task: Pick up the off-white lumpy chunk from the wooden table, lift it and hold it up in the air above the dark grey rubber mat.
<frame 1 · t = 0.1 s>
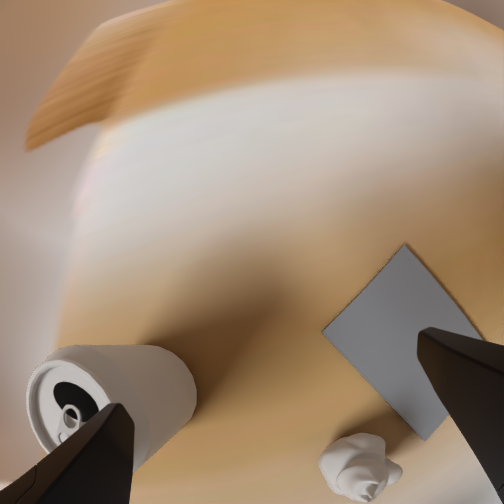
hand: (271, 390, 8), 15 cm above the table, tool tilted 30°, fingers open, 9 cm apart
off-white lumpy chunk: (352, 455, 19), on the table
grey mat: (418, 346, 21), on the table
can: (156, 388, 22), on the table
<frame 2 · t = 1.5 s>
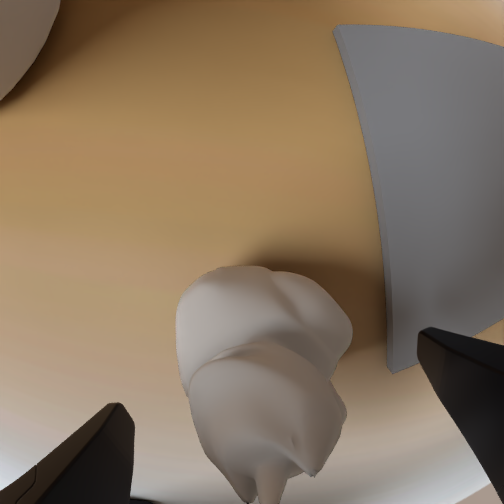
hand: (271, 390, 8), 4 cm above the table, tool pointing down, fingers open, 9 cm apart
off-white lumpy chunk: (261, 322, 11), on the table
grey mat: (471, 193, 10), on the table
can: (7, 43, 7), on the table
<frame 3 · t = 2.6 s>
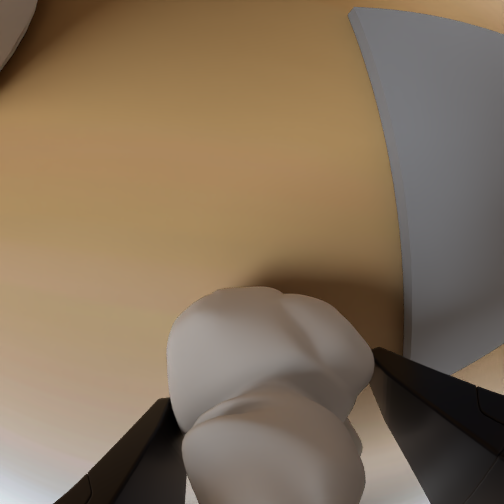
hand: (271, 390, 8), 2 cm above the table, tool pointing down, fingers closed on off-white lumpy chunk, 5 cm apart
off-white lumpy chunk: (266, 346, 10), on the table, touching gripper
grey mat: (495, 199, 9), on the table
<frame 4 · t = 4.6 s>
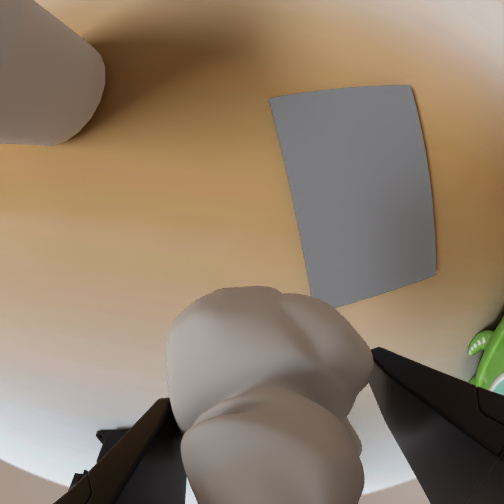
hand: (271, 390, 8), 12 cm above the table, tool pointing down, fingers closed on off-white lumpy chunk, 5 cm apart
turtle holder: (497, 334, 24), on the table
off-white lumpy chunk: (265, 346, 10), point 10 cm above the table, touching gripper
grey mat: (367, 194, 18), on the table
can: (64, 94, 15), on the table
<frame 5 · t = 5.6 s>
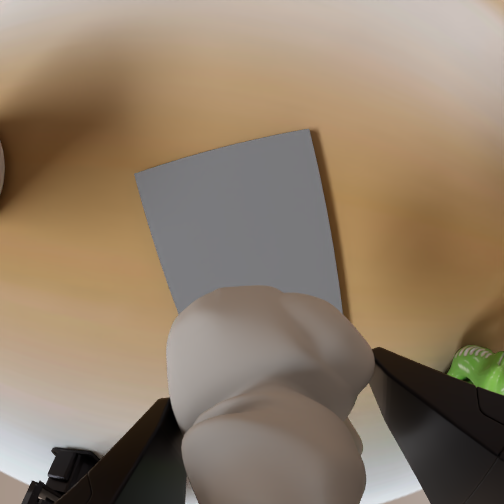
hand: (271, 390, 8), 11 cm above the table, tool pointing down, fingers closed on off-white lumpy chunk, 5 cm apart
turtle holder: (446, 386, 23), on the table
off-white lumpy chunk: (266, 345, 10), point 9 cm above the table, touching gripper
grey mat: (250, 265, 18), on the table
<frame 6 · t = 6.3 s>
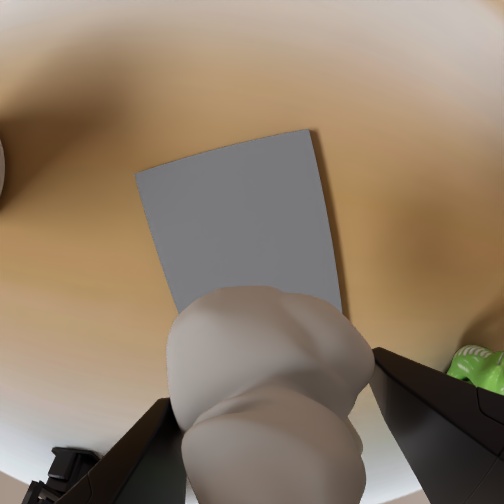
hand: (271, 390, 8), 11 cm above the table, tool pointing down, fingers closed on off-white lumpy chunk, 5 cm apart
turtle holder: (446, 386, 23), on the table
off-white lumpy chunk: (266, 345, 10), point 9 cm above the table, touching gripper
grey mat: (250, 265, 18), on the table
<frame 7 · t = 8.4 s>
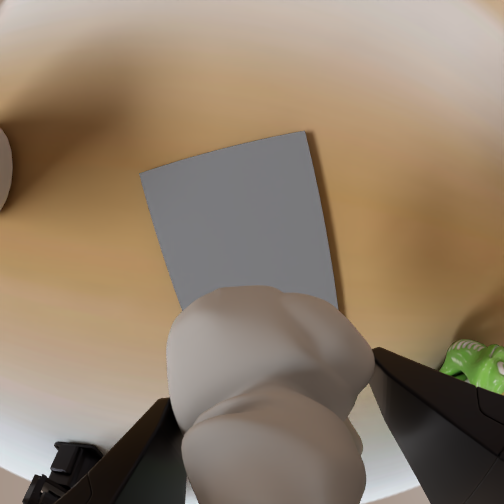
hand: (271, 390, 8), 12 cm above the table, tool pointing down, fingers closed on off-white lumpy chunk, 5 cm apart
turtle holder: (442, 381, 24), on the table
off-white lumpy chunk: (266, 345, 10), point 10 cm above the table, touching gripper
grey mat: (249, 260, 19), on the table
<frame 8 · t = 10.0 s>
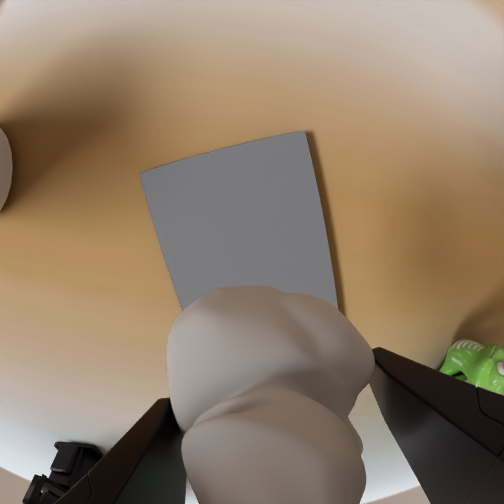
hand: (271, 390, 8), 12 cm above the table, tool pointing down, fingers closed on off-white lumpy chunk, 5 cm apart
turtle holder: (442, 381, 24), on the table
off-white lumpy chunk: (266, 345, 10), point 10 cm above the table, touching gripper
grey mat: (249, 260, 19), on the table
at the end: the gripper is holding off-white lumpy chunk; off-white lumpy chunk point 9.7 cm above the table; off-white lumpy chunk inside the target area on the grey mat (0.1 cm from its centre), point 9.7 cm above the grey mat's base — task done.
